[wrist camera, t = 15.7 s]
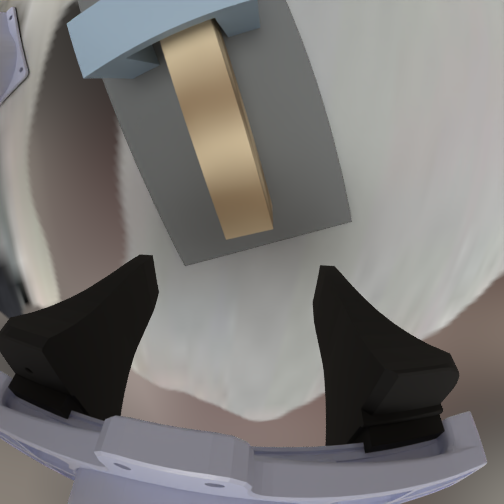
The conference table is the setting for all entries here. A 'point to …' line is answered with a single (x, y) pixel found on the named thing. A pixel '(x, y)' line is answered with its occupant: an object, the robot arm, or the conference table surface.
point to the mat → (264, 133)
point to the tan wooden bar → (219, 128)
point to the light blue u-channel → (146, 31)
